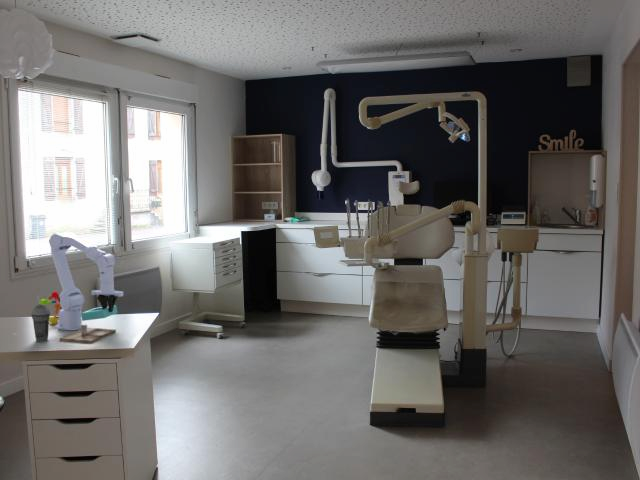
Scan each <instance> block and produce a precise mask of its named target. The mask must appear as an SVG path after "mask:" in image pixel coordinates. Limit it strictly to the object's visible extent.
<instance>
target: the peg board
mask: <svg viewBox="0 0 640 480" xmlns="http://www.w3.org/2000/svg"><path fill="white" fill-rule="evenodd" d="M81 327H82V328H81V329H78V330H75V331H74V332H71V333H70V334H66V335H63V336H62V337H60V338H59V342H68V343H80V344H93V343H95V342H97V341H99V340H101V339H104V338H107V337H109V336H110V334H111V335H112V334H114V333H117V329H113V328H101V327H100V328H97V327H96V328H95V327H88V325H87V324H82V325H81ZM108 335H109V336H108Z"/></svg>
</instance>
